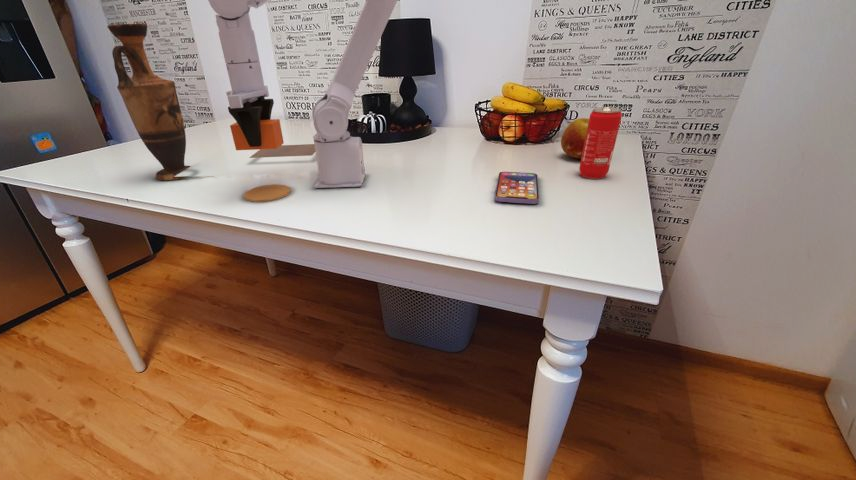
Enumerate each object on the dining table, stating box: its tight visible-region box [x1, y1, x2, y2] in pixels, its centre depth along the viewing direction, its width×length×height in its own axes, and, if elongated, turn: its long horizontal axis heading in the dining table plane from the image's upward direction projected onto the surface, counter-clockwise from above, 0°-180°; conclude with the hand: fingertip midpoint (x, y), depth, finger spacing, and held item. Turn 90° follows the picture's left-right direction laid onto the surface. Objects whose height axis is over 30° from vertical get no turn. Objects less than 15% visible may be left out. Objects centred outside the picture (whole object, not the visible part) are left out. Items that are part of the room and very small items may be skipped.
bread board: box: [249, 143, 316, 159], centre depth 103 cm, size 16×12×2 cm
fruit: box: [560, 117, 589, 159], centre depth 87 cm, size 10×9×8 cm
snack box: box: [229, 118, 284, 151], centre depth 76 cm, size 8×4×4 cm, turn 86°
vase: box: [106, 23, 192, 181], centre depth 86 cm, size 11×11×30 cm
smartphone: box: [494, 171, 540, 205], centre depth 73 cm, size 1×7×15 cm
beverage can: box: [579, 107, 623, 180], centre depth 75 cm, size 5×5×12 cm
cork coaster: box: [243, 184, 292, 203], centre depth 79 cm, size 9×9×1 cm
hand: (260, 143), depth 76 cm, fingers closed on snack box, 4 cm apart
